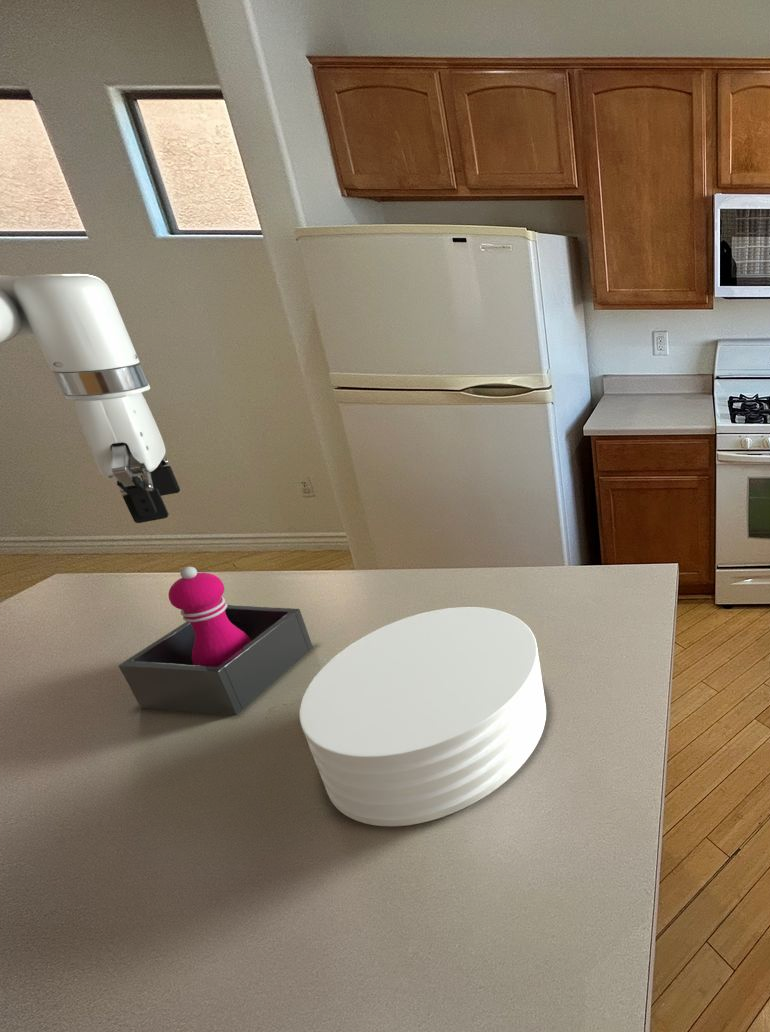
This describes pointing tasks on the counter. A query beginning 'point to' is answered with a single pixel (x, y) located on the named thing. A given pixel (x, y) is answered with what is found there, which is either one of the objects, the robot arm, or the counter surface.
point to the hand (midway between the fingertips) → (159, 506)
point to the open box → (232, 685)
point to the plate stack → (425, 714)
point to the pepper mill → (207, 617)
